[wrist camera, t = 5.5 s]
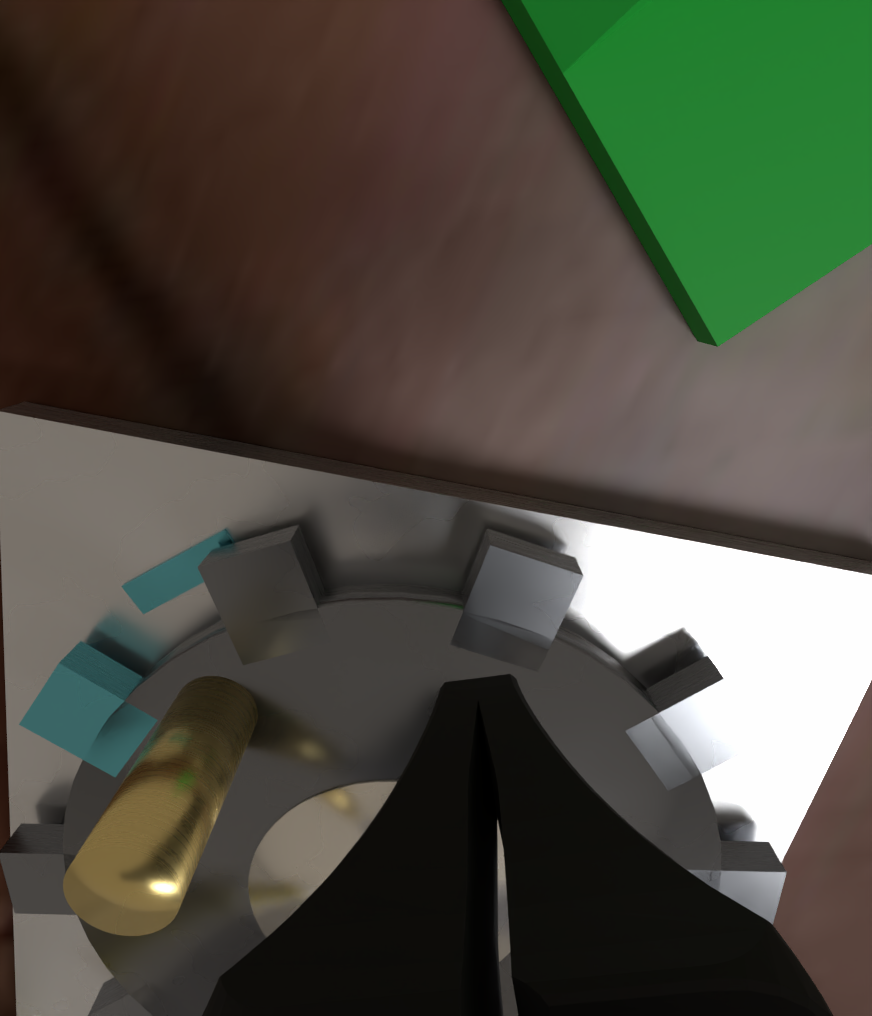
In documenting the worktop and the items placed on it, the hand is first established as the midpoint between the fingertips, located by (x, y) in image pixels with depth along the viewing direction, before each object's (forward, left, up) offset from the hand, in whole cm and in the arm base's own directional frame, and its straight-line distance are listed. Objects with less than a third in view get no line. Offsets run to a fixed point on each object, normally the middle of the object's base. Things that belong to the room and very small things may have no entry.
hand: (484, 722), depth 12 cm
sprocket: (+1, +7, -3) cm, 7 cm away
